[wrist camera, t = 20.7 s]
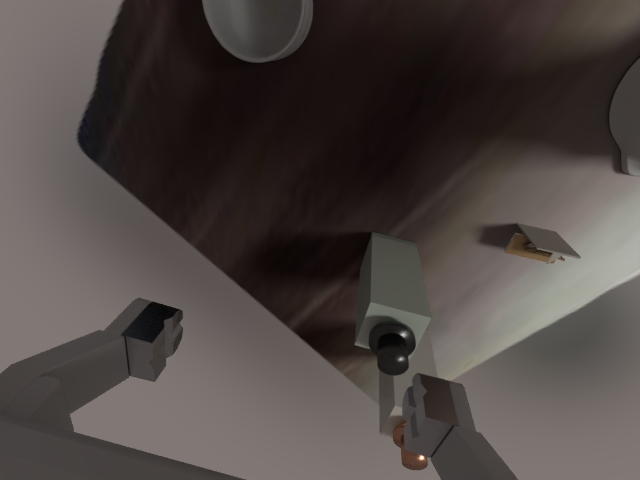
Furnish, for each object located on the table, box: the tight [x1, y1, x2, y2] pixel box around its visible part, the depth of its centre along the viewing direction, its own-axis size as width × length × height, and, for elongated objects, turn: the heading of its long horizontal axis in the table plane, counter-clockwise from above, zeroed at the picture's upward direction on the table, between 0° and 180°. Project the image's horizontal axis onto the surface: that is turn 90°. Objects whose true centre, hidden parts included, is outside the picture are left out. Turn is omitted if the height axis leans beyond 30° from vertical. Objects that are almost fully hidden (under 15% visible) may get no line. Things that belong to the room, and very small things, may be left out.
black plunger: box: [368, 321, 416, 376], centre depth 43 cm, size 5×5×18 cm
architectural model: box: [505, 223, 581, 264], centre depth 46 cm, size 3×7×7 cm, turn 80°
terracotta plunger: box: [393, 423, 428, 470], centre depth 51 cm, size 5×5×18 cm
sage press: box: [355, 232, 432, 359], centre depth 47 cm, size 7×7×17 cm
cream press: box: [379, 329, 438, 438], centre depth 55 cm, size 7×7×17 cm
